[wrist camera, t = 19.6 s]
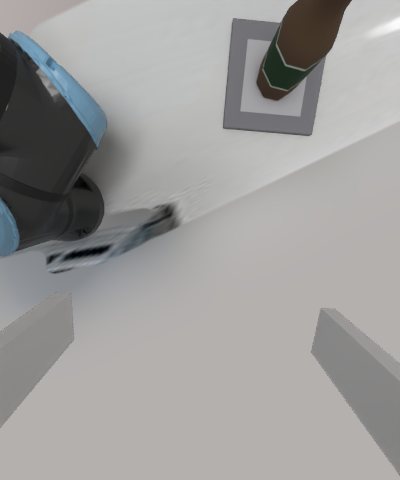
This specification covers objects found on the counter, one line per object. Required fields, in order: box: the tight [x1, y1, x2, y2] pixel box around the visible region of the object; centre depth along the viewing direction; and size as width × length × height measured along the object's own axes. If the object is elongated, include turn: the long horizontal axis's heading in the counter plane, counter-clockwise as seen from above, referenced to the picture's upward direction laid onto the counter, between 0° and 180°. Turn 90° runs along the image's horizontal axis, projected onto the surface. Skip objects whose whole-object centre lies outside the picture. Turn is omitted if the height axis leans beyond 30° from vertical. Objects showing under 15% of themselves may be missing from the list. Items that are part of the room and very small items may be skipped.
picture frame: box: [223, 18, 326, 136], centre depth 40 cm, size 18×18×1 cm
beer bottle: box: [256, 0, 352, 101], centre depth 28 cm, size 8×8×24 cm
